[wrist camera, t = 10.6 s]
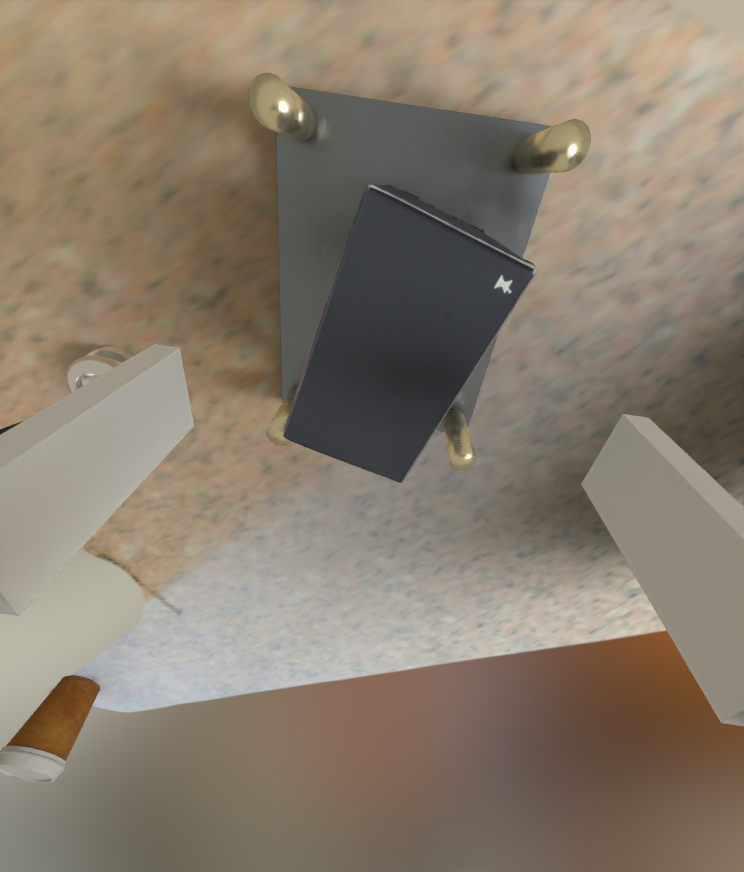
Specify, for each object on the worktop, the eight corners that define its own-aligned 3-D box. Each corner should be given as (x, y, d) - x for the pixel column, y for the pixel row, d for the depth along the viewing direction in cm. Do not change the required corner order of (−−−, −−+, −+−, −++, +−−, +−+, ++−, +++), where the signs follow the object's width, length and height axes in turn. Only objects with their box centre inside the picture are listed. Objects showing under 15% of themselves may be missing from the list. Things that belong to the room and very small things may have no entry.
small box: (379, 176, 19) (361, 167, 10) (487, 231, 20) (552, 265, 12) (318, 352, 25) (273, 441, 16) (405, 388, 26) (406, 489, 17)
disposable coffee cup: (40, 671, 62) (-28, 763, 52) (87, 670, 61) (25, 764, 51) (76, 695, 67) (21, 783, 57) (120, 694, 66) (71, 784, 56)
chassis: (553, 132, 19) (614, 109, 13) (462, 423, 29) (476, 477, 24) (283, 91, 19) (235, 52, 13) (287, 399, 29) (261, 447, 23)
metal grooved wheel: (168, 395, 30) (129, 337, 27) (147, 414, 27) (102, 352, 24) (118, 409, 31) (76, 354, 28) (94, 428, 28) (45, 370, 26)
